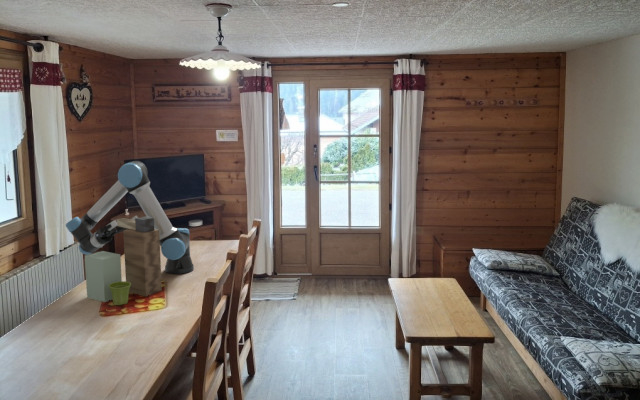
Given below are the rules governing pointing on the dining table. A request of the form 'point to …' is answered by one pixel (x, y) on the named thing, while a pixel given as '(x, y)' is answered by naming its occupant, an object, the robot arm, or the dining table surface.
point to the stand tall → (142, 261)
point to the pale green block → (102, 274)
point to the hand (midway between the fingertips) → (126, 220)
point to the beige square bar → (137, 224)
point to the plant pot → (120, 292)
